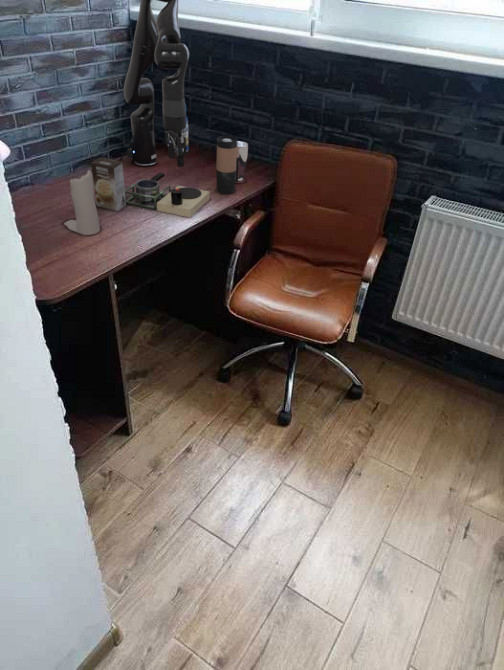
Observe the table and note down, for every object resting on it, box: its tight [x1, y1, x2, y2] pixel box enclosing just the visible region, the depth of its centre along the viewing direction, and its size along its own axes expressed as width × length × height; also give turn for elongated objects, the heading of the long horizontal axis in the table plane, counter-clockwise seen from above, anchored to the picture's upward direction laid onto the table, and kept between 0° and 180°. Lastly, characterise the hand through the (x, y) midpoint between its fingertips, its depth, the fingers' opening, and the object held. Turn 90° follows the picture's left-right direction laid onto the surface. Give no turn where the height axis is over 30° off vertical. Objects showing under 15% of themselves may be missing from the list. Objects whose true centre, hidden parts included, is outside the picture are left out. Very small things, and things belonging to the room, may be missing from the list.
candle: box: [63, 169, 101, 236], centre depth 160 cm, size 7×14×20 cm, turn 60°
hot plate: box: [156, 185, 211, 218], centre depth 183 cm, size 19×13×3 cm
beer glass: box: [235, 140, 249, 184], centre depth 202 cm, size 7×7×15 cm
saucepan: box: [134, 172, 165, 206], centre depth 187 cm, size 8×16×7 cm, turn 161°
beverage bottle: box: [175, 103, 190, 153], centre depth 225 cm, size 8×8×20 cm
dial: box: [171, 188, 183, 205], centre depth 177 cm, size 4×4×5 cm
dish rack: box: [125, 183, 172, 211], centre depth 184 cm, size 13×13×5 cm
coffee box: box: [90, 156, 127, 212], centre depth 175 cm, size 9×6×16 cm
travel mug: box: [215, 135, 238, 195], centre depth 191 cm, size 8×8×20 cm
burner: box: [180, 186, 201, 199], centre depth 185 cm, size 10×10×1 cm
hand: (176, 162), depth 172 cm, fingers open, 8 cm apart
